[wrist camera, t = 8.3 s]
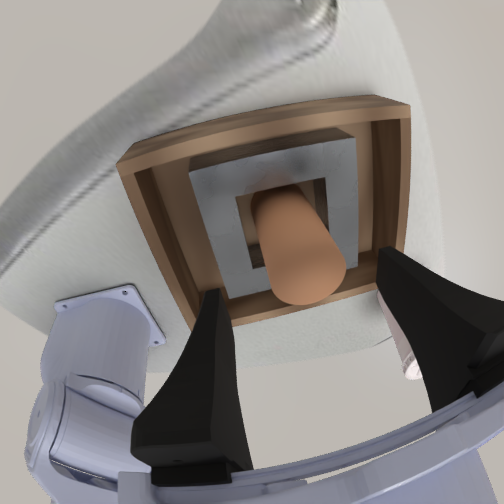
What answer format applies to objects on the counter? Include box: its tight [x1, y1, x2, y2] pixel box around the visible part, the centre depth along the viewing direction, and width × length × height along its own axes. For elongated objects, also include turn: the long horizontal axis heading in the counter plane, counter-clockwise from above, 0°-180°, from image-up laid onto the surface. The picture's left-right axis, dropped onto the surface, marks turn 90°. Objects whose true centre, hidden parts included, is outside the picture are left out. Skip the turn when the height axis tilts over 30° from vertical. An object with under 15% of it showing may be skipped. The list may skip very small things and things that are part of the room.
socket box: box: [116, 95, 411, 332], centre depth 20 cm, size 17×14×4 cm
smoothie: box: [377, 290, 422, 380], centre depth 24 cm, size 6×6×14 cm
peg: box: [250, 183, 346, 305], centre depth 18 cm, size 4×4×8 cm
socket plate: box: [188, 127, 358, 299], centre depth 20 cm, size 10×10×3 cm
